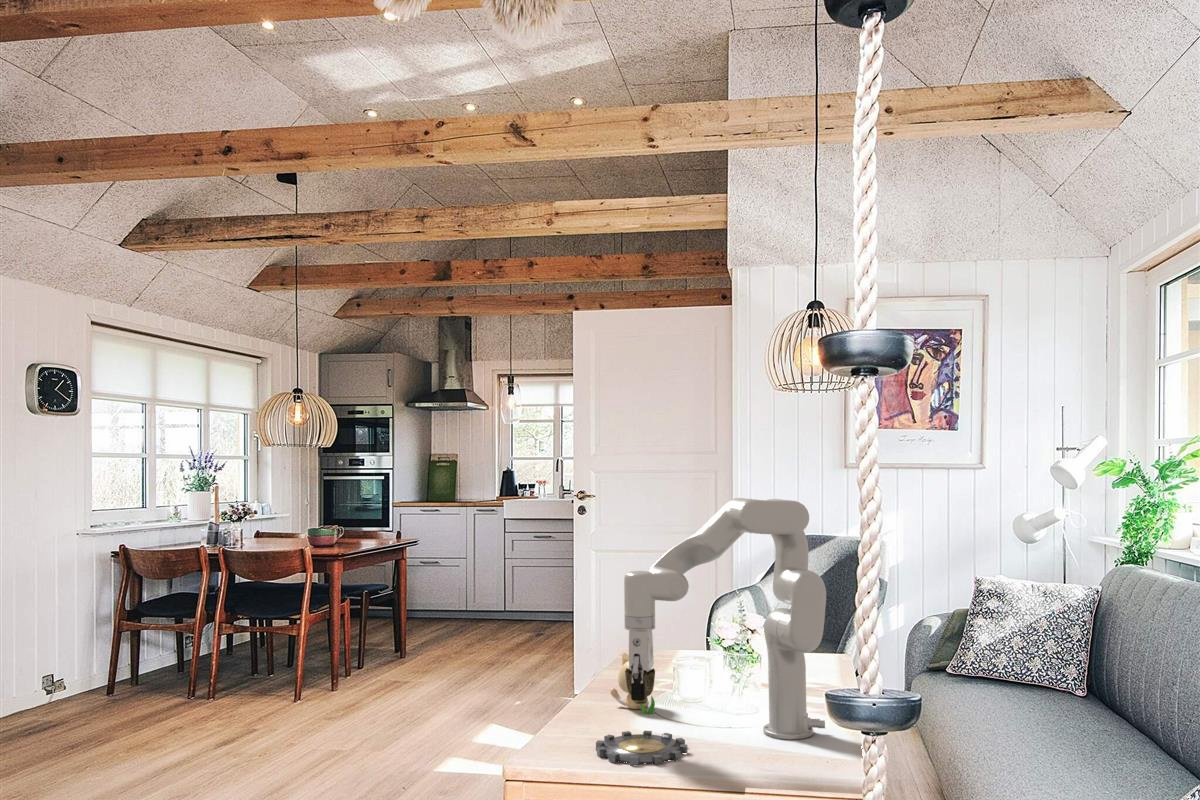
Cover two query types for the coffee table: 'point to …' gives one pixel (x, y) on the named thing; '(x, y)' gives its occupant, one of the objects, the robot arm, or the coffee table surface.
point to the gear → (641, 748)
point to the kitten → (623, 686)
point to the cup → (648, 682)
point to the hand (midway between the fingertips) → (640, 695)
